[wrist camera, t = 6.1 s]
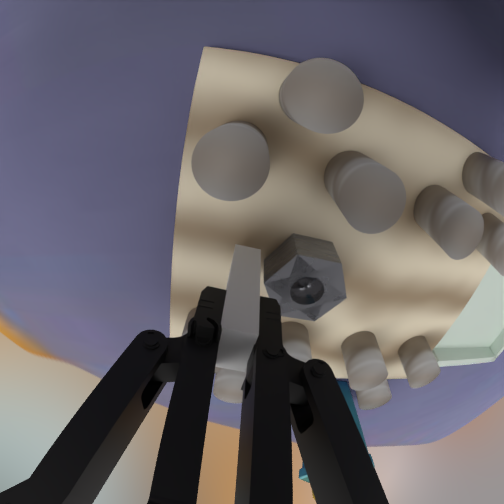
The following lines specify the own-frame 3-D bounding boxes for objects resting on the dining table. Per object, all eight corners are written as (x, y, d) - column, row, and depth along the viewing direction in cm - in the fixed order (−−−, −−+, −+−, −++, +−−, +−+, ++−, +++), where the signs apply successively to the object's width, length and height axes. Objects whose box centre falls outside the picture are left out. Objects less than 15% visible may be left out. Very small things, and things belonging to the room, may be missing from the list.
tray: (504, 221, 16) (520, 235, 14) (547, 252, 17) (558, 263, 15) (425, 349, 24) (433, 366, 22) (486, 348, 25) (493, 361, 23)
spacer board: (207, 50, 12) (183, 28, 8) (517, 181, 14) (554, 204, 10) (172, 346, 24) (159, 389, 20) (405, 371, 26) (416, 405, 22)
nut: (272, 228, 16) (273, 249, 14) (350, 246, 17) (361, 268, 15) (256, 286, 19) (254, 312, 16) (326, 299, 19) (332, 324, 17)
